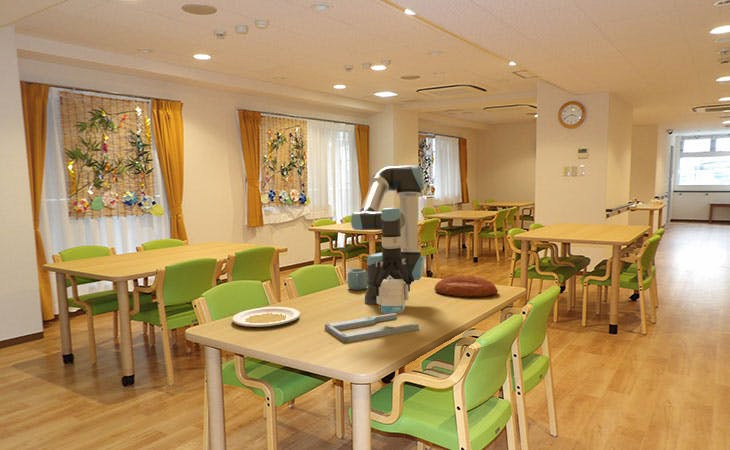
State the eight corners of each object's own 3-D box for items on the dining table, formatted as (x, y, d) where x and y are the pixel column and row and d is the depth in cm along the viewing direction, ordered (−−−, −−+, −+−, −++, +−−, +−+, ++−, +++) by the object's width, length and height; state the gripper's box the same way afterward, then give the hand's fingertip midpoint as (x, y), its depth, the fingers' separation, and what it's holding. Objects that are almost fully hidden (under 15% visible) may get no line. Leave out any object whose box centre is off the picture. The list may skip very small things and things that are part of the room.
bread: (494, 300, 237) (493, 282, 236) (428, 296, 250) (428, 278, 249) (501, 290, 258) (501, 273, 257) (440, 286, 270) (440, 270, 270)
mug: (368, 292, 261) (367, 273, 260) (346, 292, 261) (346, 273, 260) (368, 286, 276) (367, 268, 275) (348, 286, 276) (347, 268, 275)
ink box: (402, 313, 195) (401, 278, 194) (380, 312, 196) (379, 278, 195) (404, 307, 203) (404, 274, 202) (384, 307, 205) (383, 274, 204)
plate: (275, 308, 234) (275, 303, 234) (313, 319, 214) (313, 314, 214) (220, 321, 214) (220, 316, 214) (256, 334, 194) (256, 328, 194)
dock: (324, 329, 198) (324, 324, 198) (394, 317, 212) (394, 313, 212) (344, 342, 181) (344, 337, 181) (419, 329, 195) (419, 324, 194)
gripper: (368, 250, 189) (370, 307, 191) (422, 245, 200) (423, 300, 201) (360, 248, 196) (361, 303, 198) (412, 244, 206) (413, 296, 208)
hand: (392, 301), depth 200 cm, fingers closed on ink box, 11 cm apart
